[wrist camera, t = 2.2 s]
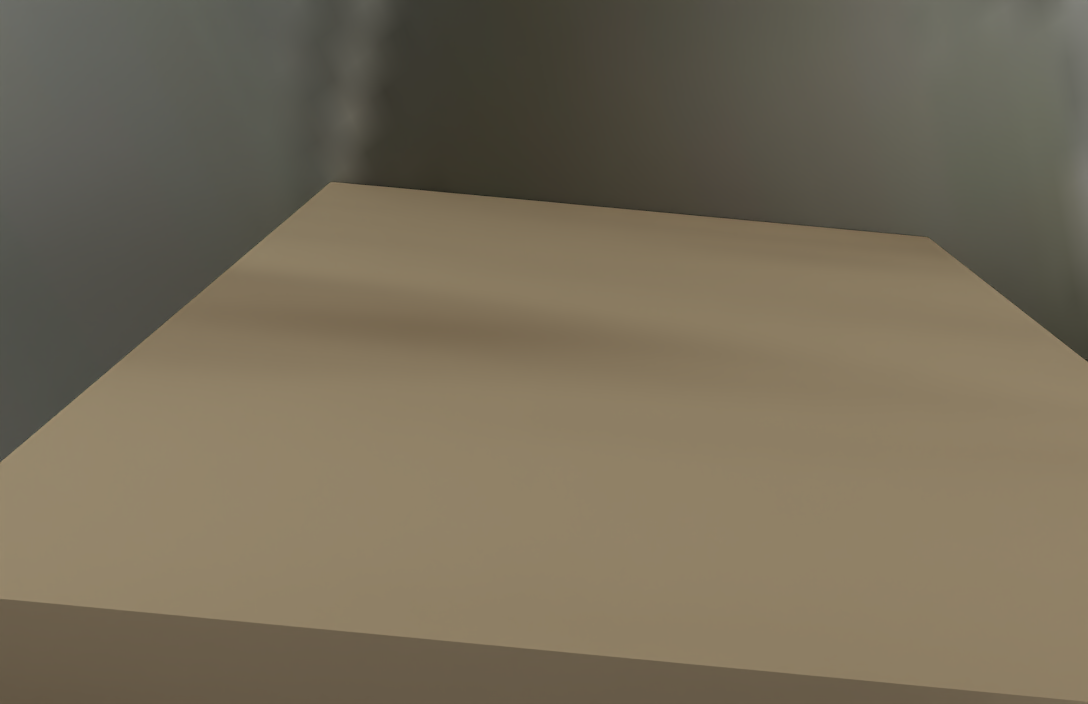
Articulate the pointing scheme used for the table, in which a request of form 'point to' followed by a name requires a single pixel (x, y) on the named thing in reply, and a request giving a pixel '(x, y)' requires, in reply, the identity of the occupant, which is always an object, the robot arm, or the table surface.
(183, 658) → the oak cube
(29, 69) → the table surface
